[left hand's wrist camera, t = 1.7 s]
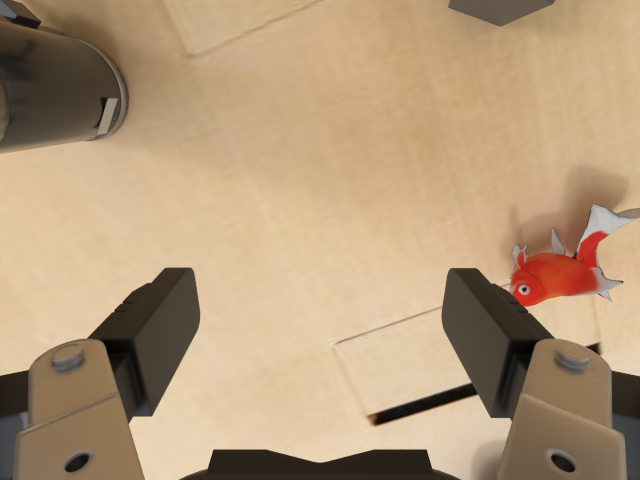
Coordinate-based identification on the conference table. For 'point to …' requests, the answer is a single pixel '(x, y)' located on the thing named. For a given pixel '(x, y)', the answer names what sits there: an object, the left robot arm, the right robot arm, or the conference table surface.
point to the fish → (568, 263)
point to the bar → (499, 9)
